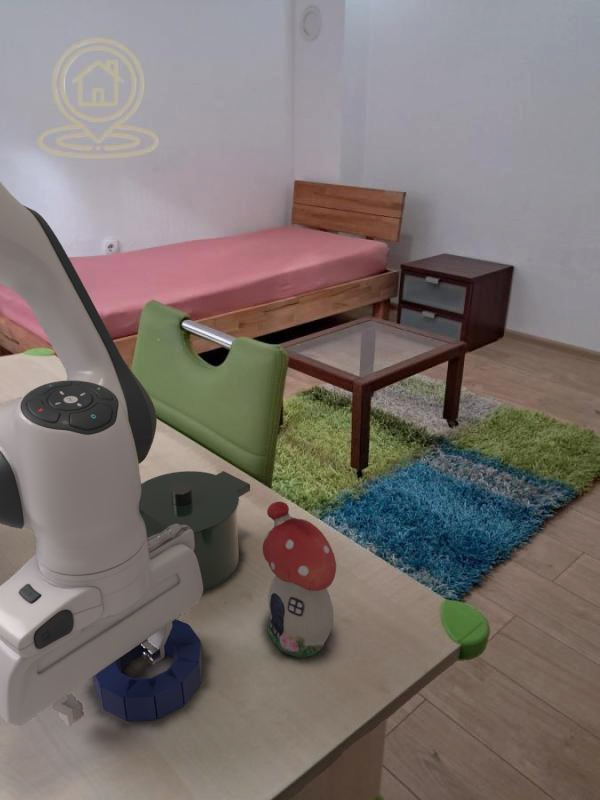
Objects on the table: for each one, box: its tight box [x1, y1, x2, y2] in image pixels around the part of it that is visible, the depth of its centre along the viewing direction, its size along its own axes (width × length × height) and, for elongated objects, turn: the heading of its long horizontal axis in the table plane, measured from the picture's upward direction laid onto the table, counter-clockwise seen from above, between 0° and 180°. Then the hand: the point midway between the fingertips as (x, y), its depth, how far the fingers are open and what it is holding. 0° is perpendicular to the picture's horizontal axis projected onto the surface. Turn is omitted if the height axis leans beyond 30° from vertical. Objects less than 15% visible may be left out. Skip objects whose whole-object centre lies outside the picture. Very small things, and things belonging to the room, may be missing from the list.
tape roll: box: [92, 618, 204, 722], centre depth 62 cm, size 10×10×3 cm
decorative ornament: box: [262, 501, 337, 659], centre depth 66 cm, size 9×7×15 cm
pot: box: [139, 470, 251, 592], centre depth 75 cm, size 22×14×13 cm, turn 139°
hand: (115, 686), depth 59 cm, fingers open, 8 cm apart
